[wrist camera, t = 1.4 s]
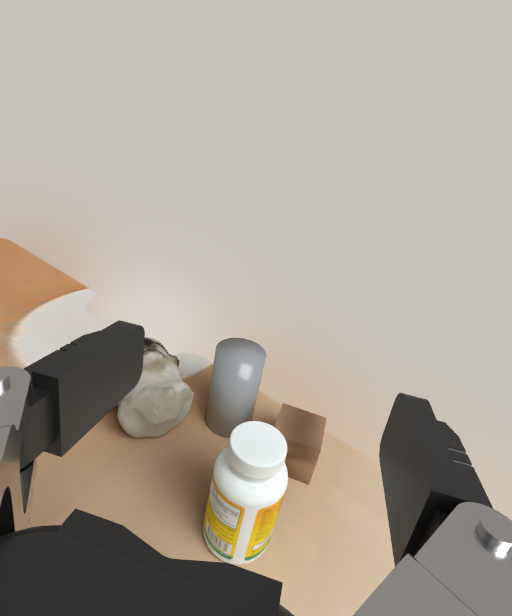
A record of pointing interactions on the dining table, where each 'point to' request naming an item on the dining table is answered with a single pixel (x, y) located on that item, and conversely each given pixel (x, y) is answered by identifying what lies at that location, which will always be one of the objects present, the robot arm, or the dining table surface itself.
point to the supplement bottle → (246, 493)
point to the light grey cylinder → (234, 384)
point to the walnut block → (301, 440)
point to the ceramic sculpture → (155, 395)
